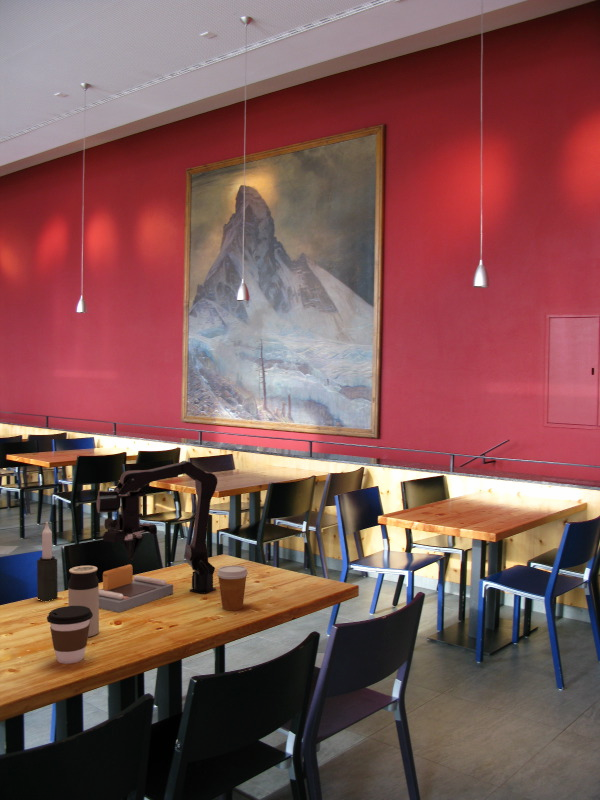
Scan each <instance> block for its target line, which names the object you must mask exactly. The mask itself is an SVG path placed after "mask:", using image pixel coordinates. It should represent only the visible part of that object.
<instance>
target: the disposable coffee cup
mask: <svg viewBox="0 0 600 800" xmlns="http://www.w3.org/2000/svg"><path fill="white" fill-rule="evenodd" d="M248 573H249V572H248V570H247V567H246V566H243V565H224V566H220V567H218V569H217V572H216V575H217V577H218V582H219V583H218V584H219V592H220V593H219V594H220V599H221V601H220V602H221V606H222V607H221V608H222V609H223V610H225V611H238V610H239V611H240V610H241V609H243V607H244V601H245V599H244V598H245V589H246V584H247V583H246V582H247V581H246V580H247V576H248Z"/></svg>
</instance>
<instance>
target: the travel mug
mask: <svg viewBox="0 0 600 800" xmlns="http://www.w3.org/2000/svg"><path fill="white" fill-rule="evenodd" d="M97 571H98V567H97V566H94V565H80V566H74V567H72V568H71V567H70V569H69V570H68V572H69V573H70V577H69V580H68V584H67V585H68V586H67V587H68V588H67V589H68V606H85V607H88V608H90V610H91V612H92V613H93V616H92V618H91V619H90V621H89V623H90V626H89V633H88V638H91V637H94V636H95V635H97V634H99V632H100V630H99V629H100V622H99V621H100V617H99V615H100V608H99V589H100V588H99V585H100V584H99V581H100V580H99V578H98V576H97Z"/></svg>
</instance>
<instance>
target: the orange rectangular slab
mask: <svg viewBox="0 0 600 800" xmlns="http://www.w3.org/2000/svg"><path fill="white" fill-rule="evenodd" d="M133 574H134V573H133V565H132V564H127V565H126V564H125V565H124V566H119V567H116V568H112V569H109V570H105V571H103V573H102V589H103V590H110V589H114V588H117V587H120V586H123V585H127V584H130V583H133V579H134V576H133Z"/></svg>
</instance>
